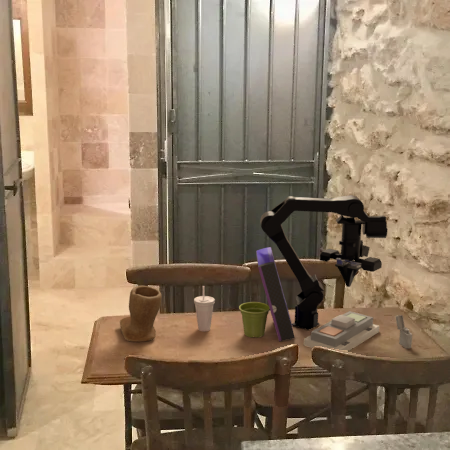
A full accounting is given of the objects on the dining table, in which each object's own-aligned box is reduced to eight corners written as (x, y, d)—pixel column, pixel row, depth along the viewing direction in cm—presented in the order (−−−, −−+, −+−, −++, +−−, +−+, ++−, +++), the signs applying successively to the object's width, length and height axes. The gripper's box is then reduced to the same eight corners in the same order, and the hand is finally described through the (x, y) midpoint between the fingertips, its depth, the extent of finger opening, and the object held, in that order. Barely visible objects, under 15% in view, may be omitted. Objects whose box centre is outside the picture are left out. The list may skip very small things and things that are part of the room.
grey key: (331, 327, 197) (331, 319, 196) (339, 322, 201) (340, 314, 200) (346, 331, 194) (346, 323, 193) (354, 326, 198) (354, 318, 197)
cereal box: (275, 319, 212) (255, 250, 207) (289, 316, 212) (270, 246, 207) (279, 341, 195) (257, 266, 190) (294, 337, 195) (274, 262, 190)
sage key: (342, 325, 203) (343, 317, 202) (351, 320, 206) (351, 313, 206) (357, 329, 200) (357, 321, 199) (365, 324, 203) (365, 316, 203)
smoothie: (190, 331, 203) (190, 287, 199) (199, 323, 208) (199, 281, 205) (209, 334, 200) (209, 290, 197) (217, 326, 206) (218, 284, 203)
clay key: (318, 339, 192) (318, 331, 192) (327, 333, 196) (327, 326, 195) (333, 343, 189) (333, 335, 188) (342, 338, 193) (342, 330, 192)
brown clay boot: (164, 343, 194) (164, 294, 190) (123, 346, 191) (122, 297, 188) (157, 324, 208) (157, 278, 205) (119, 327, 206) (118, 280, 202)
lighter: (411, 348, 192) (413, 322, 190) (406, 348, 191) (408, 322, 190) (398, 338, 199) (400, 313, 197) (393, 339, 198) (395, 313, 196)
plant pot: (232, 334, 201) (232, 307, 199) (252, 325, 207) (252, 299, 205) (255, 343, 194) (256, 315, 192) (275, 334, 201) (276, 307, 199)
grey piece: (303, 345, 193) (304, 330, 192) (344, 322, 211) (345, 309, 210) (339, 356, 186) (340, 341, 185) (378, 331, 203) (379, 318, 202)
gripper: (391, 237, 201) (388, 286, 205) (337, 228, 213) (335, 274, 217) (374, 244, 193) (371, 295, 197) (319, 234, 205) (317, 282, 208)
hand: (348, 286), depth 205 cm, fingers closed
